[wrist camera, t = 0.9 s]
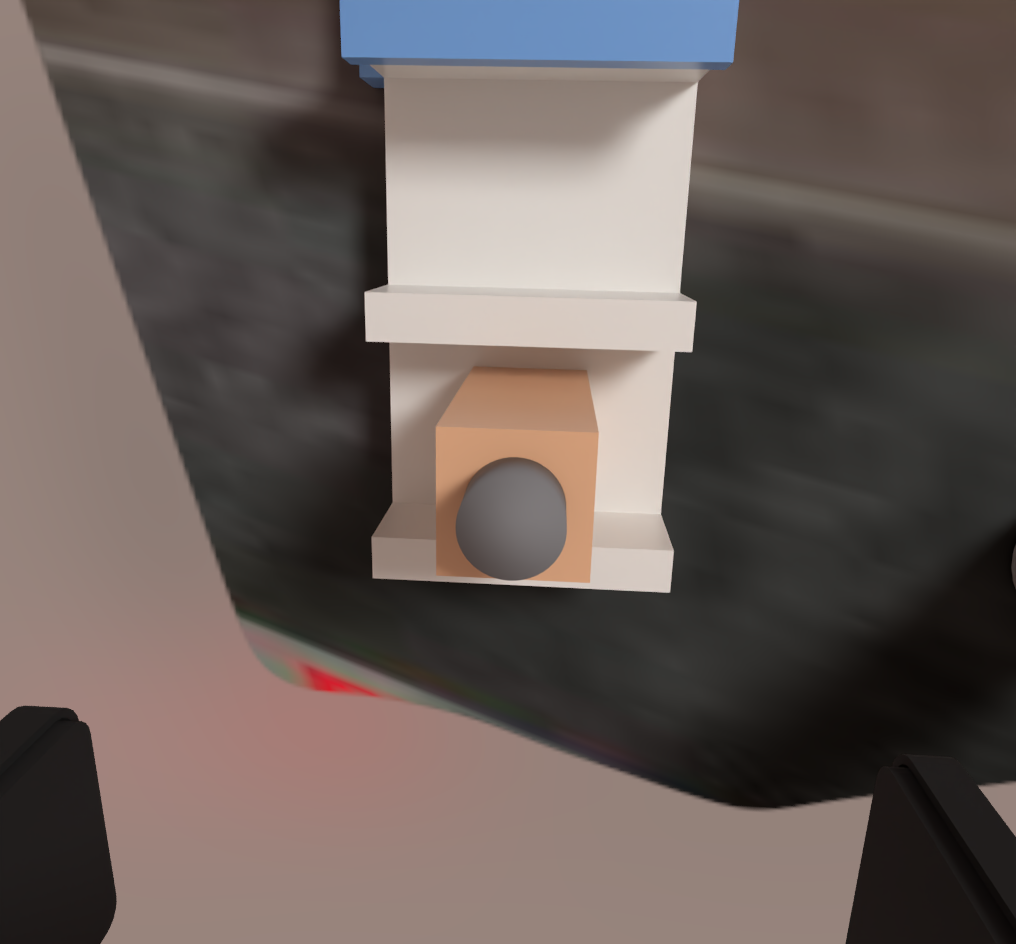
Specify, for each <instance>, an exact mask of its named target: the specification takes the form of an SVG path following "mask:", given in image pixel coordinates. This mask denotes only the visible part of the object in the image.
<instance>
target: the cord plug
mask: <svg viewBox="0 0 1016 944" xmlns="http://www.w3.org/2000/svg"><path fill="white" fill-rule="evenodd" d="M598 439H599V431H598V426H597V421H596V415H595V410H594V405H593V400H592V395H591V389H590V384H589V379H588V374H587V370H566V369H536V368H507V367H478V366H474V367H473V368H472V370H471V371H470V373H469V375H468V376H467V378H466V379H465V381H464V382H463V384H462V386H461V387H460V389H459V390H458V392H457V394H456V395H455V397H454V398H453V400H452V401H451V403H450V405H449V406H448V408H447V409H446V411H445V413H444V414H443V416H442V417H441V419H440V420H439V422H438V424H437V425H436V576H455V577H475V578H496V579H501V580H508V581H517V580H538V581H558V582H579V583H590V574H591V557H592V540H593V523H594V506H595V489H596V473H597V456H598Z"/></svg>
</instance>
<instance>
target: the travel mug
mask: <svg viewBox="0 0 1016 944" xmlns="http://www.w3.org/2000/svg"><path fill="white" fill-rule="evenodd" d="M1011 569H1012V577H1013V583H1014V586H1015V588H1016V545H1015V548H1014V551H1013V557H1012V566H1011Z"/></svg>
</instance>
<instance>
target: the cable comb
mask: <svg viewBox="0 0 1016 944" xmlns="http://www.w3.org/2000/svg"><path fill="white" fill-rule="evenodd" d="M738 6H739V0H340V26H341V55H342V58H343V59H345V60H346V61H347V62H348V63H350V64H351V65H359V75H360V78H361V79H362V80H364V81H365V82H366V83H368V84H369V85H370V86H372V87H373V88H384V98H385V147H386V197H387V247H388V285H385V286H382V287H379V288H376V289H372V290H369V291H366V292H365V327H366V342H389V346H390V395H391V445H392V494H393V503H392V504H391V506H390V508H389V509H388V511H387V513H386V514H385V516H384V518H383V519H382V521H381V522H380V524H379V526H378V527H377V529H376V531H375V532H374V534H373V535H372V570H373V578H379V579H400V580H420V581H441V582H461V583H482V584H503V585H523V586H544V587H564V588H585V589H606V590H626V591H647V592H667V593H670V586H671V576H672V565H673V554H674V550H673V547H672V544H671V542H670V539H669V536H668V533H667V530H666V528H665V525H664V522H663V519H662V516H661V505H662V494H663V482H664V470H665V459H666V447H667V435H668V423H669V412H670V400H671V388H672V377H673V365H674V353H675V352H692V347H693V336H694V325H695V314H696V304H697V302H696V301H694V300H692V299H690V298H689V297H687V296H685V295H683V294H681V293H680V283H681V271H682V260H683V248H684V236H685V225H686V213H687V201H688V189H689V178H690V166H691V154H692V143H693V131H694V119H695V108H696V96H697V84H698V81H699V80H700V79H701V78H702V77H703V76H704V75H705V74H706V73H707V72H708V71H709V70H726V69H727V68H728V67H729V66H730V65H731V64H732V63H733V57H734V47H735V37H736V26H737V16H738ZM474 366H478V367H507V368H536V369H566V370H587V374H588V379H589V384H590V389H591V395H592V400H593V405H594V410H595V415H596V421H597V426H598V431H599V439H598V456H597V473H596V489H595V506H594V523H593V540H592V557H591V574H590V583H579V582H558V581H538V580H517V581H508V580H501V579H496V578H475V577H455V576H436V425H437V424H438V422H439V420H440V419H441V417H442V416H443V414H444V413H445V411H446V409H447V408H448V406H449V405H450V403H451V401H452V400H453V398H454V397H455V395H456V394H457V392H458V390H459V389H460V387H461V386H462V384H463V382H464V381H465V379H466V378H467V376H468V375H469V373H470V371H471V370H472V368H473V367H474Z"/></svg>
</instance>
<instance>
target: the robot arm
mask: <svg viewBox="0 0 1016 944" xmlns="http://www.w3.org/2000/svg"><path fill="white" fill-rule="evenodd" d="M115 910H116V891H115V885H114V878H113V872H112V866H111V860H110V853H109V847H108V841H107V834H106V828H105V822H104V815H103V809H102V803H101V796H100V790H99V783H98V777H97V771H96V765H95V758H94V752H93V747H92V740H91V733H90V730H89V727H88V725H87V724H86V723H84V722H82V721H79V720H78V716H77V715H76V713H75V712H74V711H73V710H71V709H68V708H57V707H39V706H21V707H17V708H16V709H14V710H13V711H11V712H10V713H9V714H8V715H6V716H5V717H4V718H3V719H2V720H1V721H0V944H100V943H101V942H102V940H103V939H104V937H105V935H106V934H107V932H108V930H109V928H110V926H111V923H112V921H113V918H114V914H115ZM846 944H1016V837H1015V835H1014V834H1013V833H1012V832H1011V830H1010V829H1009V827H1008V826H1007V825H1006V823H1005V822H1004V821H1003V819H1002V818H1001V817H1000V815H999V814H998V813H997V811H996V810H995V809H994V807H993V806H992V805H991V803H990V802H989V801H988V799H987V798H986V797H985V795H984V794H983V793H982V791H981V790H980V789H979V787H978V786H977V785H976V783H975V782H974V781H973V779H972V778H971V777H970V775H969V774H968V773H967V771H966V770H965V769H964V767H963V766H962V765H961V764H960V763H959V762H958V761H957V760H956V759H955V758H952V757H948V756H930V755H912V754H901V755H898V756H897V757H896V758H895V760H894V761H893V764H892V767H889V766H884V767H881V768H880V770H879V771H878V774H877V778H876V783H875V788H874V794H873V799H872V804H871V810H870V815H869V821H868V826H867V831H866V837H865V842H864V847H863V853H862V858H861V864H860V869H859V874H858V880H857V885H856V891H855V896H854V902H853V907H852V912H851V917H850V923H849V928H848V933H847V939H846Z"/></svg>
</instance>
